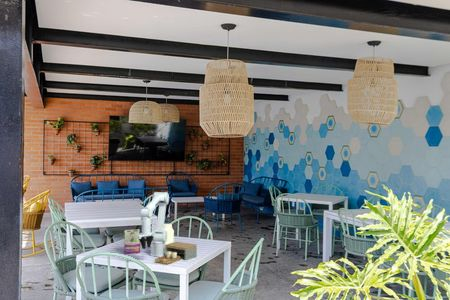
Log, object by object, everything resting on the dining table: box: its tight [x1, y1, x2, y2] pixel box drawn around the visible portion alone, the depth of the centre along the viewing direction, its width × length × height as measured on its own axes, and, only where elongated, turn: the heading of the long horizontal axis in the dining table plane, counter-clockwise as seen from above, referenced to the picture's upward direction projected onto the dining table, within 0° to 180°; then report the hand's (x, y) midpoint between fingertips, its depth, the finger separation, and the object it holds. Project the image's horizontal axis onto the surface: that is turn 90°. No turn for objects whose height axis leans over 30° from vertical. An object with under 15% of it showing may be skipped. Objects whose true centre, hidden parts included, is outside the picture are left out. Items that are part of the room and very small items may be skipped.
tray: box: [154, 251, 181, 266], centre depth 277 cm, size 10×14×5 cm
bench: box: [165, 241, 198, 261], centre depth 289 cm, size 18×12×8 cm, turn 58°
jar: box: [164, 223, 175, 245], centre depth 331 cm, size 12×10×15 cm
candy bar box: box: [123, 228, 141, 255], centre depth 301 cm, size 11×5×16 cm, turn 101°
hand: (146, 248), depth 273 cm, fingers open, 4 cm apart
